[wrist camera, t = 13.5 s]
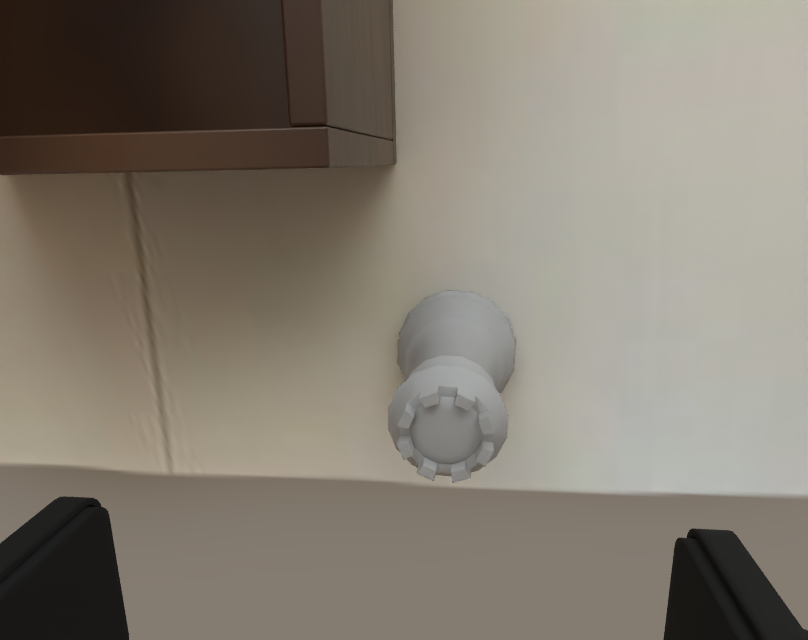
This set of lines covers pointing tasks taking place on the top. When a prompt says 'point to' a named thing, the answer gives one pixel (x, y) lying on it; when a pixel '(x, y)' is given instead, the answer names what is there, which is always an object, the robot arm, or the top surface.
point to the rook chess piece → (452, 384)
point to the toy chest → (195, 85)
